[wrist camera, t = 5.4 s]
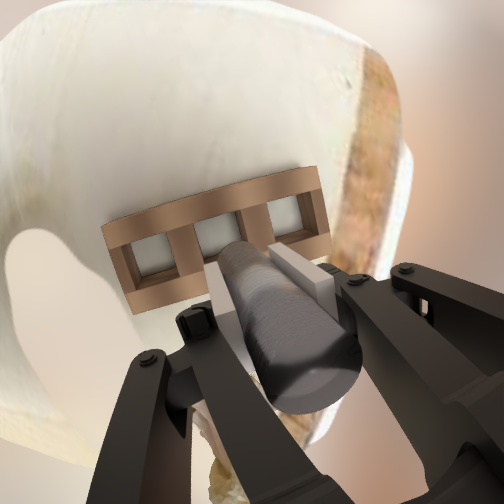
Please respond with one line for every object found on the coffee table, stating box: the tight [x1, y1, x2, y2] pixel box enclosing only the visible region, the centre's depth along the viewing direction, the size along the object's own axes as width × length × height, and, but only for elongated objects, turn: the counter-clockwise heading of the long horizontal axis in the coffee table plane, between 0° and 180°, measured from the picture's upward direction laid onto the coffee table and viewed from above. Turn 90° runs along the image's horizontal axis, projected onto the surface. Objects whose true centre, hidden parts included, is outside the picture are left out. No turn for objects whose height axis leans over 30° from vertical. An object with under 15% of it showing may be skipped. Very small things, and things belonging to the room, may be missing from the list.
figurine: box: [192, 377, 277, 504], centre depth 27 cm, size 12×12×20 cm
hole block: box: [101, 166, 334, 315], centre depth 29 cm, size 21×9×4 cm, turn 104°
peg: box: [217, 241, 363, 415], centre depth 13 cm, size 3×3×12 cm
